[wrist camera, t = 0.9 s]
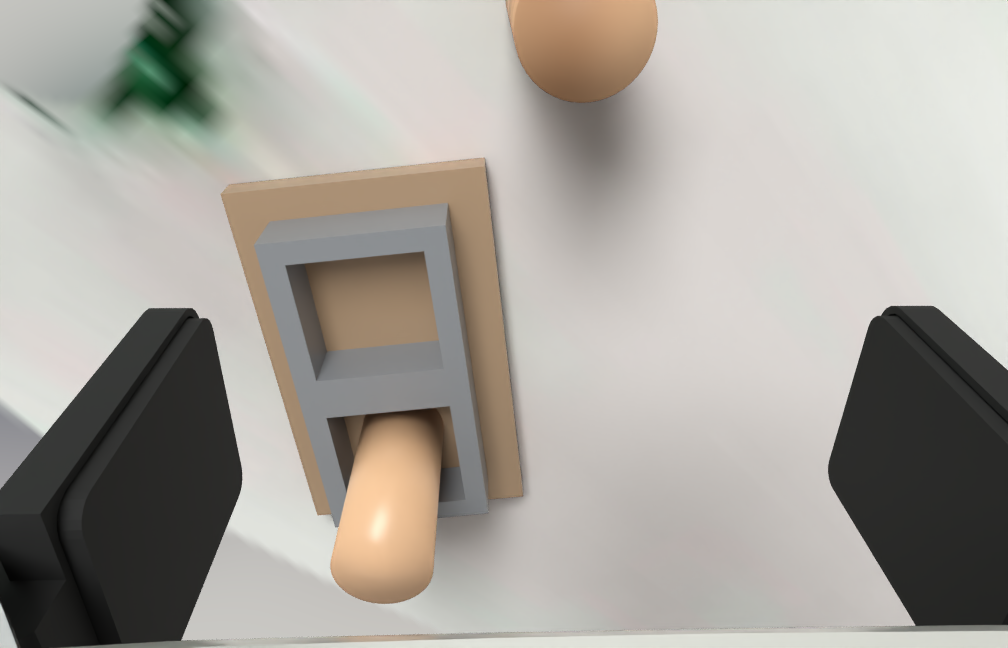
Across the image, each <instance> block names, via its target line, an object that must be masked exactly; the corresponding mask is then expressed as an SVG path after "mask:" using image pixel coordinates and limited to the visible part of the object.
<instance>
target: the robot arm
mask: <svg viewBox="0 0 1008 648" xmlns="http://www.w3.org/2000/svg"><path fill="white" fill-rule="evenodd" d="M828 474H829V480H830V483H831V486H832V488H833V490H834V491H835V493H836V495H837V496H838V498H839V500H840V501H841V503H842V505H843V506H844V508H845V509H846V511H847V513H848V514H849V516H850V518H851V519H852V521H853V523H854V524H855V526H856V528H857V529H858V531H859V533H860V534H861V536H862V537H863V539H864V541H865V542H866V544H867V546H868V547H869V549H870V551H871V552H872V554H873V556H874V557H875V559H876V561H877V562H878V564H879V565H880V567H881V569H882V570H883V572H884V574H885V575H886V577H887V579H888V580H889V582H890V584H891V585H892V587H893V589H894V590H895V592H896V593H897V595H898V597H899V598H900V600H901V602H902V603H903V605H904V607H905V608H906V610H907V612H908V613H909V615H910V617H911V618H912V620H913V621H914V623H915V625H916V626H866V627H786V628H721V629H663V630H607V631H555V632H503V633H460V634H418V635H377V636H339V637H337V636H333V637H292V638H257V639H256V638H254V639H221V640H187V641H181V639H182V637H183V634H184V632H185V629H186V627H187V624H188V622H189V619H190V617H191V614H192V612H193V609H194V607H195V604H196V602H197V599H198V597H199V594H200V592H201V589H202V587H203V584H204V582H205V579H206V577H207V574H208V572H209V569H210V567H211V564H212V562H213V560H214V557H215V555H216V552H217V549H218V547H219V544H220V542H221V540H222V537H223V535H224V532H225V530H226V527H227V525H228V522H229V520H230V517H231V515H232V512H233V510H234V507H235V505H236V502H237V500H238V497H239V494H240V491H241V486H242V467H241V462H240V457H239V453H238V448H237V443H236V438H235V433H234V428H233V423H232V419H231V414H230V409H229V404H228V399H227V394H226V390H225V385H224V380H223V375H222V370H221V365H220V361H219V356H218V351H217V346H216V341H215V336H214V332H213V328H212V324H211V322H210V321H209V320H208V319H207V318H199V317H198V315H197V313H196V311H195V310H193V309H192V308H151V309H148V310H146V311H145V312H144V313H143V314H142V316H141V317H140V318H139V319H138V321H137V322H136V323H135V324H134V326H133V327H132V328H131V329H130V331H129V332H128V333H127V334H126V335H125V337H124V338H123V339H122V340H121V342H120V343H119V344H118V345H117V347H116V348H115V349H114V350H113V351H112V353H111V354H110V355H109V356H108V358H107V359H106V360H105V361H104V363H103V364H102V365H101V366H100V367H99V369H98V370H97V371H96V372H95V374H94V375H93V376H92V377H91V379H90V380H89V381H88V382H87V383H86V385H85V386H84V387H83V388H82V390H81V391H80V392H79V393H78V395H77V396H76V397H75V398H74V400H73V401H72V402H71V403H70V404H69V406H68V407H67V408H66V409H65V411H64V412H63V413H62V414H61V416H60V417H59V418H58V419H57V420H56V422H55V423H54V424H53V425H52V427H51V428H50V429H49V430H48V432H47V433H46V434H45V435H44V436H43V438H42V439H41V440H40V441H39V443H38V444H37V445H36V446H35V448H34V449H33V450H32V451H31V452H30V454H29V455H28V456H27V458H26V459H25V460H24V461H23V462H22V464H21V465H20V466H19V467H18V469H17V470H16V471H15V472H14V473H13V475H12V476H11V477H10V478H9V480H8V481H7V482H6V483H5V485H4V486H3V487H2V488H1V490H0V648H1008V370H1007V369H1006V368H1005V367H1003V366H1002V365H1001V364H1000V363H999V362H998V361H997V360H995V359H994V358H993V357H992V356H991V355H990V354H989V353H988V352H986V351H985V350H984V349H983V348H982V347H981V346H980V345H978V344H977V343H976V342H975V341H974V340H973V339H972V338H971V337H969V336H968V335H967V334H966V333H965V332H964V331H963V330H961V329H960V328H959V327H958V326H957V325H956V324H955V323H954V322H952V321H951V320H950V319H949V318H948V317H947V316H946V315H944V314H943V313H942V312H941V311H940V310H939V309H937V308H935V307H934V306H890V307H888V308H887V309H886V310H885V311H884V312H883V313H882V315H881V316H876V317H875V318H873V320H872V321H871V322H870V325H869V327H868V330H867V334H866V337H865V341H864V344H863V348H862V351H861V354H860V358H859V361H858V365H857V368H856V371H855V375H854V378H853V382H852V385H851V388H850V392H849V395H848V399H847V402H846V405H845V409H844V412H843V416H842V419H841V422H840V426H839V429H838V433H837V436H836V439H835V443H834V446H833V450H832V453H831V457H830V460H829V465H828Z"/></svg>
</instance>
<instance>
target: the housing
mask: <svg viewBox="0 0 1008 648" xmlns="http://www.w3.org/2000/svg"><path fill="white" fill-rule="evenodd" d="M221 197H222V200H223V204H224V207H225V210H226V214H227V217H228V220H229V224H230V227H231V230H232V233H233V237H234V240H235V243H236V247H237V250H238V253H239V257H240V260H241V263H242V267H243V270H244V273H245V277H246V280H247V283H248V286H249V290H250V293H251V296H252V300H253V303H254V306H255V310H256V313H257V316H258V320H259V323H260V326H261V330H262V333H263V336H264V339H265V343H266V346H267V349H268V353H269V356H270V359H271V363H272V366H273V369H274V373H275V376H276V379H277V383H278V386H279V389H280V392H281V396H282V399H283V402H284V406H285V409H286V412H287V416H288V419H289V422H290V426H291V429H292V432H293V436H294V439H295V442H296V445H297V449H298V452H299V455H300V459H301V462H302V465H303V469H304V472H305V475H306V479H307V482H308V485H309V489H310V492H311V495H312V498H313V502H314V505H315V508H316V512H317V515H326V514H332V517H333V521H334V524H335V527H339V528H338V532H337V536H336V541H335V545H334V549H333V554H332V558H331V564H330V565H331V573H332V576H333V578H334V580H335V581H336V583H337V584H338V585H339V586H340V587H341V588H342V589H343V590H344V591H345V592H347V593H348V594H350V595H352V596H353V597H355V598H358V599H360V600H363V601H367V602H371V603H379V604H390V603H398V602H402V601H405V600H408V599H411V598H413V597H415V596H416V595H418V594H420V593H421V592H422V591H423V590H424V589H425V588H426V587H427V586H428V584H429V583H430V581H431V579H432V575H433V567H434V553H435V540H436V527H437V518H443V517H454V516H464V515H475V514H486V513H488V499H499V498H509V497H520V496H523V489H522V477H521V469H520V460H519V451H518V443H517V434H516V425H515V417H514V408H513V399H512V391H511V382H510V374H509V365H508V356H507V348H506V339H505V330H504V322H503V313H502V304H501V296H500V287H499V279H498V270H497V261H496V253H495V244H494V235H493V227H492V218H491V210H490V201H489V192H488V184H487V175H486V166H485V158H477V159H467V160H458V161H448V162H439V163H429V164H420V165H410V166H401V167H392V168H382V169H373V170H363V171H354V172H344V173H335V174H325V175H316V176H307V177H297V178H288V179H278V180H269V181H259V182H250V183H241V184H231V185H229V186H228V187H227V188H226V189H225V190H224V191H223V192H222V193H221Z"/></svg>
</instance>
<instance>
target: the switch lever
mask: <svg viewBox="0 0 1008 648" xmlns="http://www.w3.org/2000/svg"><path fill="white" fill-rule="evenodd" d="M506 7H507V12H508V16H509V20H510V25H511V29H512V33H513V37H514V42H515V46H516V50H517V53H518V57H519V59H520V62H521V64H522V66H523V68H524V69H525V71H526V73H527V74H528V75H529V77H530V78H531V79H532V81H533V82H534V83H535V84H537V85H538V86H539V87H540V88H541V89H542V90H544V91H545V92H547V93H548V94H550V95H552V96H554V97H556V98H559V99H562V100H565V101H570V102H578V103H585V102H594V101H599V100H602V99H605V98H608V97H610V96H612V95H614V94H616V93H618V92H619V91H621V90H623V89H624V88H625V87H626V86H628V85H629V84H630V83H631V82H632V81H633V80H634V79H635V78H636V77H637V76H638V75H639V73H640V72H641V71H642V70H643V68H644V66H645V65H646V63H647V61H648V60H649V57H650V55H651V53H652V51H653V47H654V44H655V40H656V35H657V26H658V17H657V8H656V3H655V0H506Z"/></svg>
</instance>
